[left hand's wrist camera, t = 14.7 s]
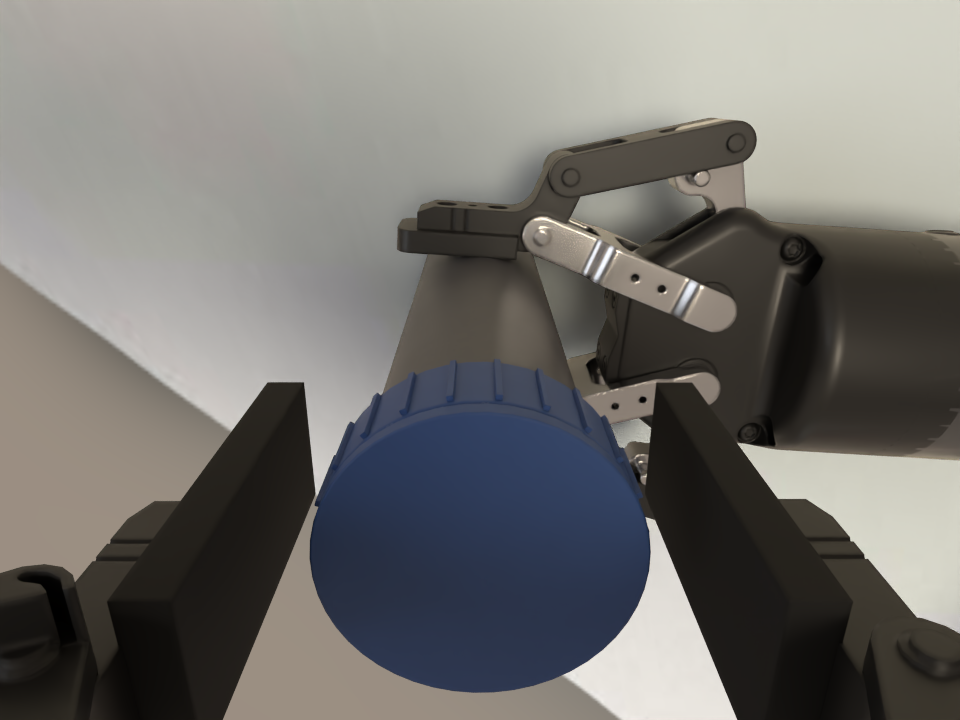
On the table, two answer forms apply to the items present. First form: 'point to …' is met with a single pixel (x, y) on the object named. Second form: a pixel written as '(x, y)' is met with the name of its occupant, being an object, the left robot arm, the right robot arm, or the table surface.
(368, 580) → the lid
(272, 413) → the left robot arm
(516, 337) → the jar
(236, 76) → the table surface
